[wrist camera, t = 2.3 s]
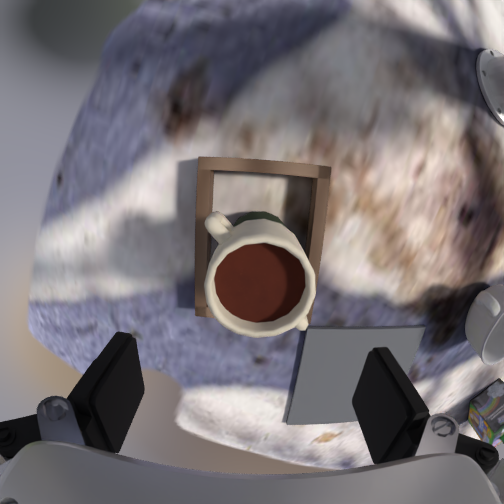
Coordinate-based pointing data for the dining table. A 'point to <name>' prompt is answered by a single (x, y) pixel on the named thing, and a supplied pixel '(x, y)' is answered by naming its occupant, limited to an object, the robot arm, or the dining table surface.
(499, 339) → the teacup
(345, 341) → the rubber mat
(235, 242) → the character mug
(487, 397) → the chalk box
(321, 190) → the collar
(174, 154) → the dining table surface
